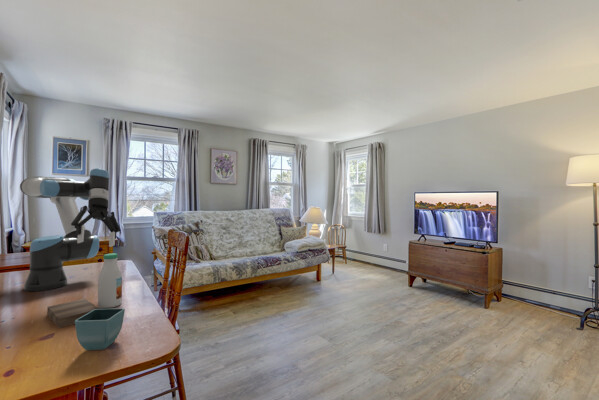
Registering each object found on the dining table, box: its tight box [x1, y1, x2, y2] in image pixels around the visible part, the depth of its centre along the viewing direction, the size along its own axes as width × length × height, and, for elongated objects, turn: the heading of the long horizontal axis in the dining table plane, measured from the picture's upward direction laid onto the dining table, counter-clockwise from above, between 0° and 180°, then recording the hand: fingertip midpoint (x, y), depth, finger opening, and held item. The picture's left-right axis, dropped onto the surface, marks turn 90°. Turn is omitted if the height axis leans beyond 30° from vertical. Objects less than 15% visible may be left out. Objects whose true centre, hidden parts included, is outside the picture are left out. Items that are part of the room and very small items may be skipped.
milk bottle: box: [97, 252, 123, 309], centre depth 110 cm, size 8×8×20 cm
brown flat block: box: [46, 298, 100, 329], centre depth 100 cm, size 16×11×3 cm
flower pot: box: [74, 307, 126, 351], centre depth 80 cm, size 9×9×9 cm
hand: (96, 244), depth 124 cm, fingers open, 13 cm apart
